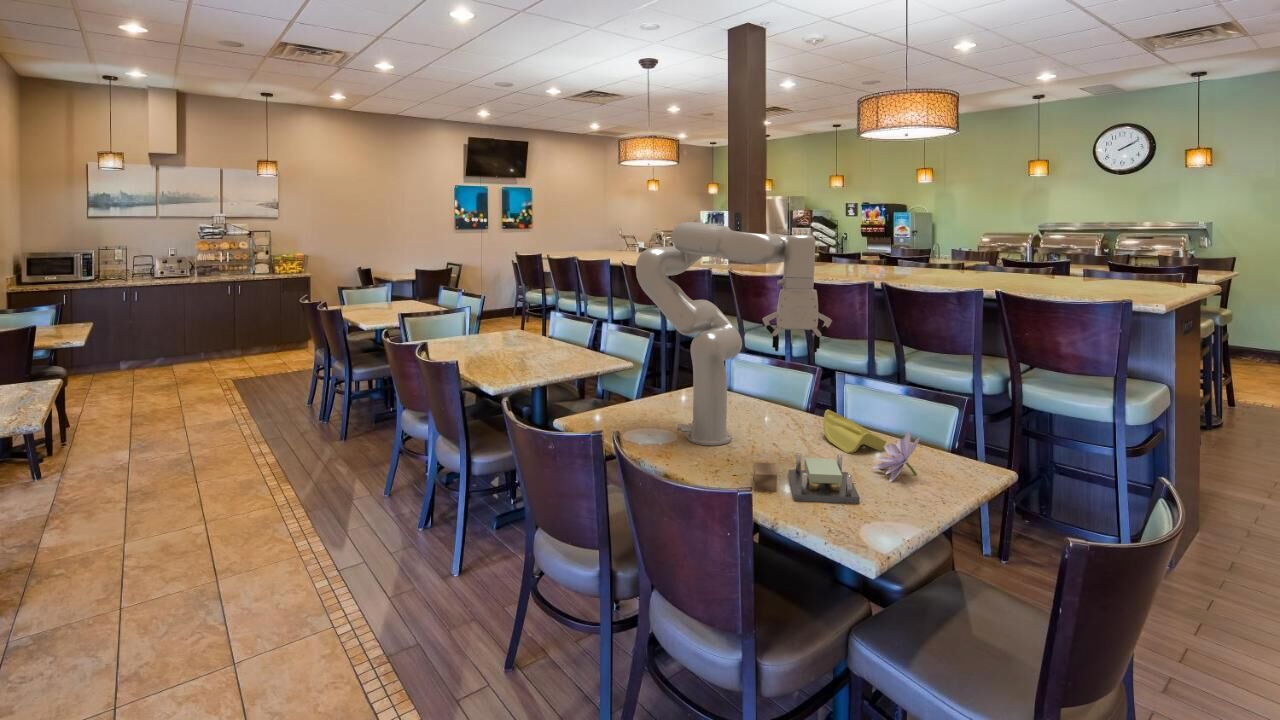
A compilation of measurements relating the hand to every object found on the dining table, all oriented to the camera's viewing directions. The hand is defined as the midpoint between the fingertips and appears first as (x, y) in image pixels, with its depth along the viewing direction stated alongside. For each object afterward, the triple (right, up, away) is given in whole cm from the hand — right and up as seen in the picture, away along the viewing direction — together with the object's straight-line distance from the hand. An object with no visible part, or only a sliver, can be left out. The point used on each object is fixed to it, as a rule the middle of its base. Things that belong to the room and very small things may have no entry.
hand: (795, 351), depth 176 cm
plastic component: (+19, -26, +17) cm, 37 cm away
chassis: (+2, -32, -18) cm, 37 cm away
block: (-11, -32, -15) cm, 37 cm away
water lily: (+22, -31, -8) cm, 39 cm away
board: (+2, -29, -18) cm, 34 cm away
